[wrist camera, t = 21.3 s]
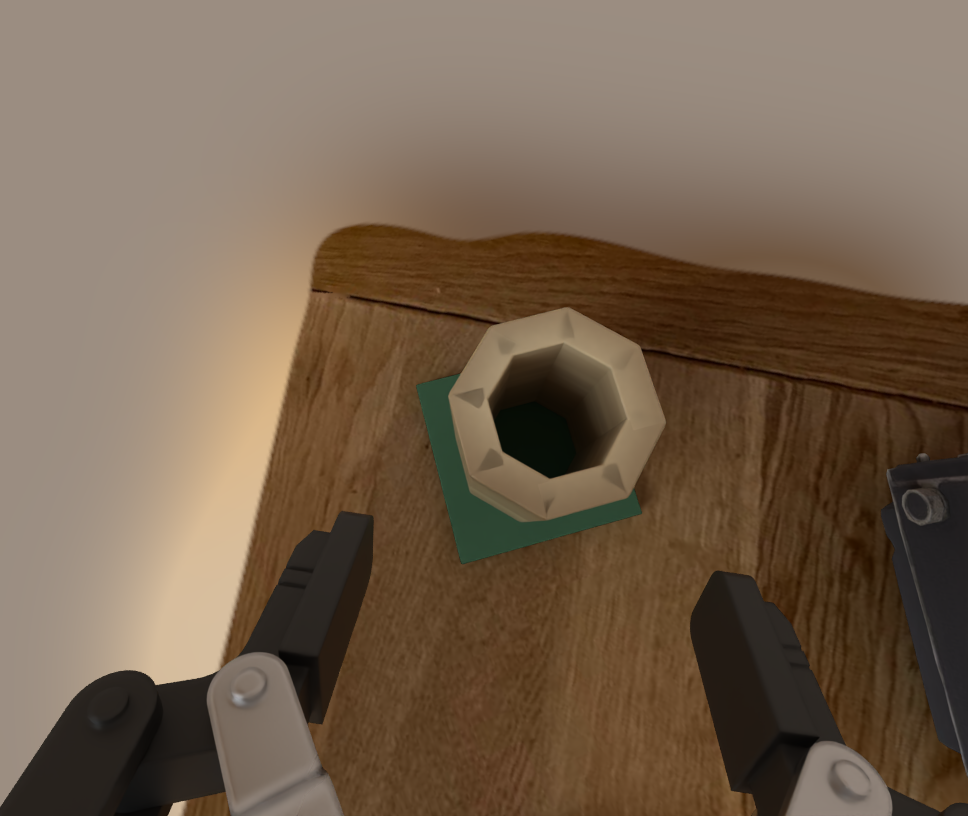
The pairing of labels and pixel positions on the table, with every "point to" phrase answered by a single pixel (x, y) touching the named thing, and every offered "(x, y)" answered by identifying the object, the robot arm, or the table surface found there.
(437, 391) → the felt pad
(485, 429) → the ring
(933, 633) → the camera
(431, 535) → the table surface
